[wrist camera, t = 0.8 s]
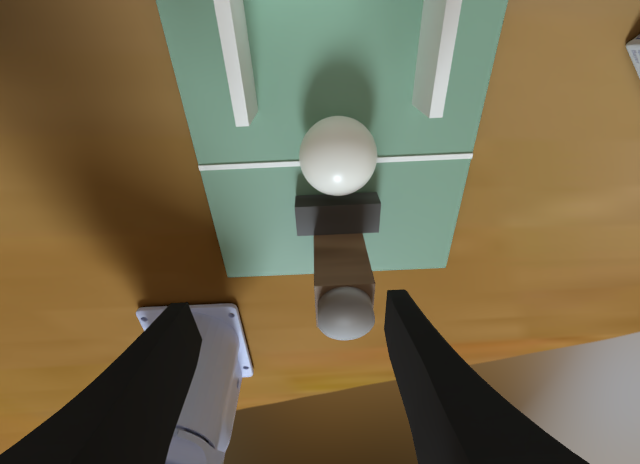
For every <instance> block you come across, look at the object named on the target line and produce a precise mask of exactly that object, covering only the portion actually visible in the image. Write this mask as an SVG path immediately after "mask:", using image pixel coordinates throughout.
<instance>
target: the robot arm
mask: <svg viewBox="0 0 640 464" xmlns="http://www.w3.org/2000/svg"><path fill="white" fill-rule="evenodd" d="M231 313H233V314H231ZM136 316H137V317H138V319H139V321H140V323H141V325H142V327H143V329H144V332H143V333H142V334H141V335H140V336H139V337H138V338H137V339H136V340H135V341H134V342H133V343H132V344H131V345H130V346H129V347H128V348H127V349H126V350H125V351H124V352H123V353H122V354H121V355H120V356H119V357H118V358H117V359H116V360H115V361H114V362H113V363H112V364H111V365H110V366H109V367H108V368H107V369H106V370H105V371H104V372H102V373H101V374H100V375H99V376H98V377H97V378H96V379H95V380H94V381H93V382H92V383H91V384H90V385H88V386H87V387H86V388H85V389H84V390H83V391H82V392H80V393H79V394H78V395H77V396H76V397H75V398H73V399H72V400H71V401H70V402H69V403H67V404H66V405H65V406H64V407H63V408H61V409H60V410H59V411H58V412H56V413H55V414H54V415H53V416H51V417H50V418H49V419H48V420H46V421H45V422H44V423H42V424H41V425H40V426H38V427H37V428H36V429H34V430H33V431H32V432H30V433H29V434H28V435H27V436H25V437H24V438H23V439H21V440H20V441H19V442H17V443H16V444H15V445H13V446H12V447H10V448H9V449H8V450H6V451H5V452H3V453H2V454H1V455H0V464H223V461H224V456H225V451H226V449H227V447H228V444H229V441H230V438H231V432H232V427H233V422H234V417H235V412H236V407H237V402H238V396H239V391H240V386H241V381H242V377H250V376H252V375H253V367H252V363H251V359H250V355H249V351H248V347H247V343H246V339H245V335H244V332H243V328H242V324H241V320H240V316H239V312H238V308H237V306H236V305H235V304H232V303H226V304H204V305H189V304H188V302H186V303H171V304H170V305H169V306H159V307H141V308H139V309H138V310H137V311H136ZM384 331H385V336H386V342H387V347H388V352H389V357H390V360H391V364H392V367H393V371H394V374H395V377H396V381H397V384H398V387H399V390H400V394H401V397H402V400H403V404H404V406H405V410H406V414H407V417H408V420H409V424H410V428H411V432H412V436H413V441H414V446H415V450H416V455H417V460H418V464H589V463H588V462H587V461H585V460H584V459H582V458H581V457H579V456H578V455H576V454H575V453H573V452H572V451H570V450H569V449H568V448H566V447H565V446H564V445H562V444H561V443H560V442H558V441H557V440H556V439H554V438H553V437H552V436H550V435H549V434H548V433H546V432H545V431H544V430H543V429H541V428H540V427H539V426H538V425H536V424H535V423H534V422H532V421H531V420H530V419H529V418H528V417H526V416H525V415H524V414H523V413H521V412H520V411H519V410H518V409H516V408H515V407H514V406H513V405H512V404H510V403H509V402H508V401H507V400H506V399H505V398H503V397H502V396H501V395H500V394H499V393H498V392H496V391H495V390H494V389H493V388H492V387H491V386H490V385H489V384H487V382H486V381H485V380H483V379H482V378H481V377H480V376H479V375H478V374H477V373H476V372H475V371H474V370H473V369H472V368H471V367H470V366H469V365H468V364H467V363H466V362H465V361H464V360H463V359H462V358H461V357H460V356H459V355H458V353H457V352H456V351H455V350H454V349H453V348H452V347H451V346H450V345H449V344H448V343H447V341H446V340H445V339H444V338H443V337H442V336H441V335H440V333H439V332H438V331H437V330H436V329H435V328H434V326H433V325H432V324H431V323H430V321H429V320H428V319H427V318H426V316H425V315H424V314H423V313H422V311H421V310H420V309H419V307H418V306H417V305H416V303H415V302H414V301H413V299H412V298H411V297H410V295H409V294H408V292H407V291H406V290H387V301H386V313H385V325H384Z"/></svg>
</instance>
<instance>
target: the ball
mask: <svg viewBox="0 0 640 464" xmlns="http://www.w3.org/2000/svg"><path fill="white" fill-rule="evenodd" d="M299 161H300V167H301V170H302V172H303V175H304V177H305V178H306V180H307V181H308V182H309V183H310V184H311V185H312V186H313V187H314V188H315V189H317V190H318V191H320V192H322V193H324V194H328V195H333V196H343V195H348V194H351V193H353V192H355V191H357V190H359V189H360V188H362V187H363V186H364V185H365V184H366V183H367V182H368V181H369V179H370V178H371V176H372V174H373V172H374V170H375V167H376V163H377V147H376V144H375V141H374V138H373V136H372V135H371V133H370V131H369V130H368V129H367V128H366V127H365V126H364V125H363V124H362V123H360V122H359V121H357V120H355V119H353V118H350V117H346V116H331V117H327V118H325V119H322V120H320V121H319V122H317V123H316V124H314V125H313V126H312V127H311V128H310V129H309V130H308V132H307V133H306V134H305V136H304V138H303V140H302V143H301V146H300V151H299Z"/></svg>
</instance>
